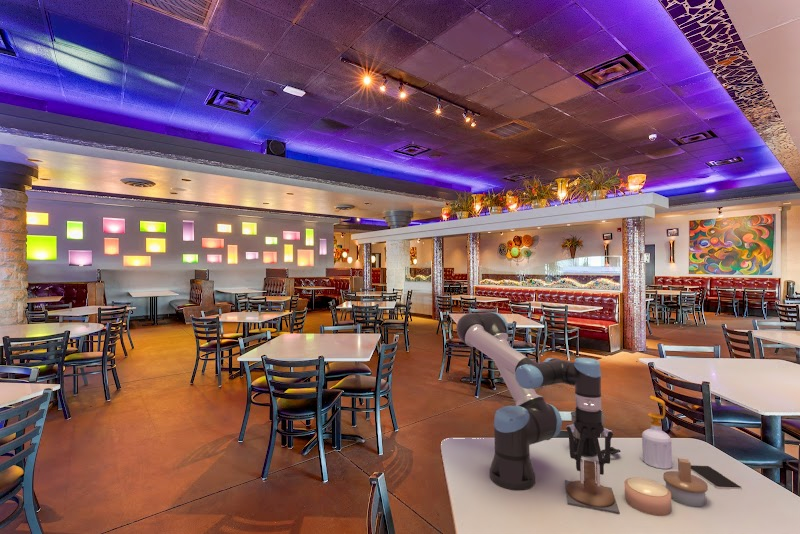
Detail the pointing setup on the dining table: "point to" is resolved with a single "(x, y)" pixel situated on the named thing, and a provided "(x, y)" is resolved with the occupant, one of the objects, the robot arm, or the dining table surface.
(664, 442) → the soap bottle
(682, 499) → the slate bowl covered
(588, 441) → the milk frother
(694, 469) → the smartphone
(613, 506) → the rubber mat
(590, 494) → the walnut lid
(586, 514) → the dining table surface
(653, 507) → the terracotta bowl
